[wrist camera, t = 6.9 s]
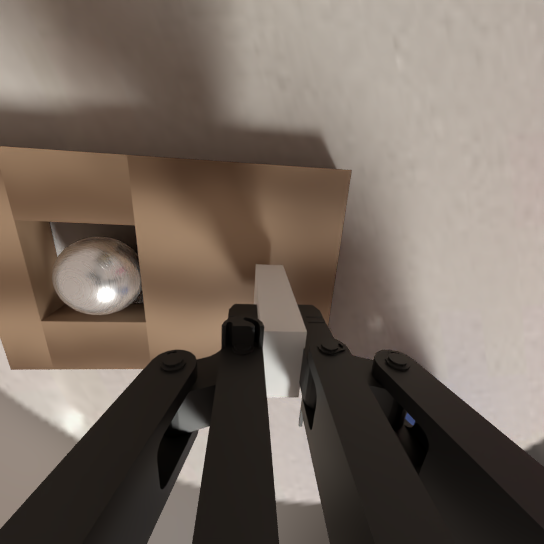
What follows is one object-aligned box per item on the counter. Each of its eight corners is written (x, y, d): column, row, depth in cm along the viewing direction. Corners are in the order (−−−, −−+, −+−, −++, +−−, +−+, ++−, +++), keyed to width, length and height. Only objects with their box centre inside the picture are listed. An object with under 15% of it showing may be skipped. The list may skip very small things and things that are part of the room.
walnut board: (-16, 146, 15) (-65, 141, 13) (337, 170, 17) (351, 170, 14) (39, 345, 19) (10, 369, 17) (313, 346, 21) (321, 367, 19)
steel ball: (107, 246, 13) (156, 234, 17) (20, 240, 13) (89, 230, 17) (117, 332, 14) (160, 301, 18) (37, 325, 14) (98, 295, 19)
